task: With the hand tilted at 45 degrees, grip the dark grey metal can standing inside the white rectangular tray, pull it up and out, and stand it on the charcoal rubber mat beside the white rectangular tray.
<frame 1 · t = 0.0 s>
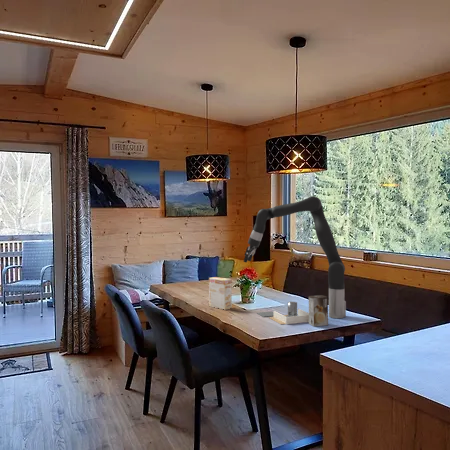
hand: (247, 261, 281), 31 cm above the table, tool tilted 20°, fingers open, 8 cm apart
tin can: (292, 311, 256), in the white rectangular tray
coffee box: (318, 325, 244), on the table
coffeecake box: (220, 307, 288), on the table
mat: (267, 314, 268), on the table
white rectangular tray: (292, 319, 256), on the table
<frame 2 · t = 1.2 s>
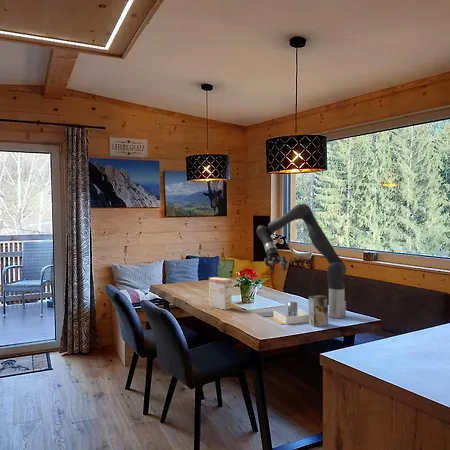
hand: (279, 270, 271), 27 cm above the table, tool tilted 45°, fingers open, 8 cm apart
nothing on the table moved.
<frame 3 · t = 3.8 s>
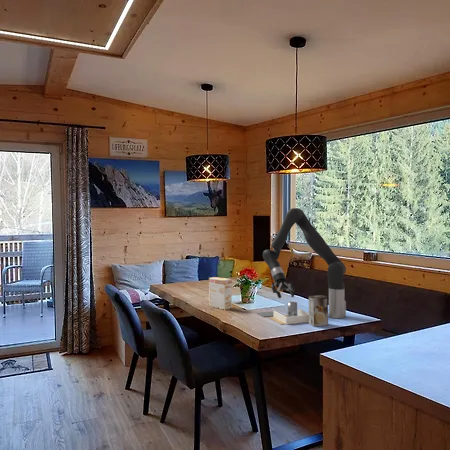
hand: (286, 297, 262), 12 cm above the table, tool tilted 45°, fingers open, 8 cm apart
nothing on the table moved.
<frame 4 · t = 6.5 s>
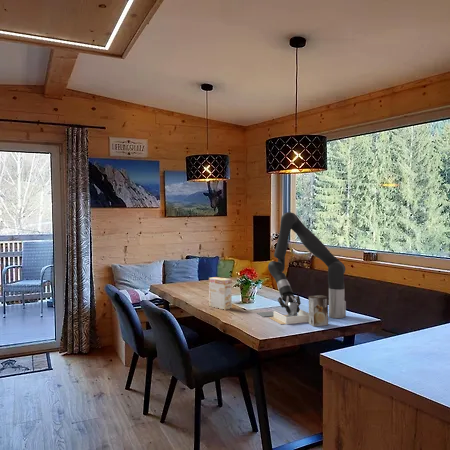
hand: (293, 312, 254), 5 cm above the table, tool tilted 45°, fingers closed on tin can, 5 cm apart
tin can: (292, 311, 256), in the white rectangular tray, touching gripper
everything else where it was.
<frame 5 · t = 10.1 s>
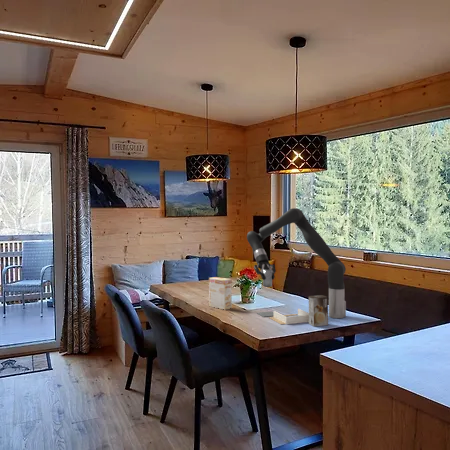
hand: (268, 278, 265), 23 cm above the table, tool tilted 45°, fingers closed on tin can, 5 cm apart
tin can: (267, 278, 267), point 23 cm above the table, touching gripper
everything else where it was.
when the fingers open (7 cm above the table, at t = 14.1 s): tin can drops 1 cm, resting on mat.
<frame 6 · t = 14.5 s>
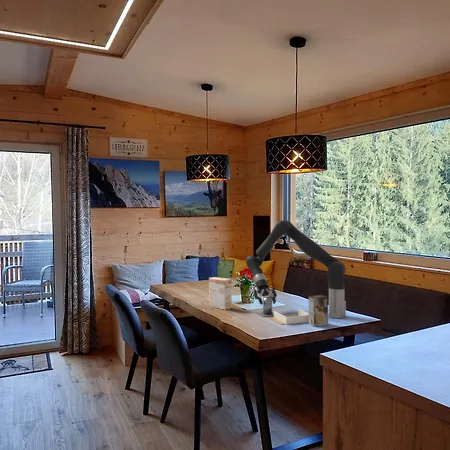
hand: (268, 303, 266), 7 cm above the table, tool tilted 45°, fingers open, 8 cm apart
tin can: (267, 305, 268), on the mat
everything else where it was.
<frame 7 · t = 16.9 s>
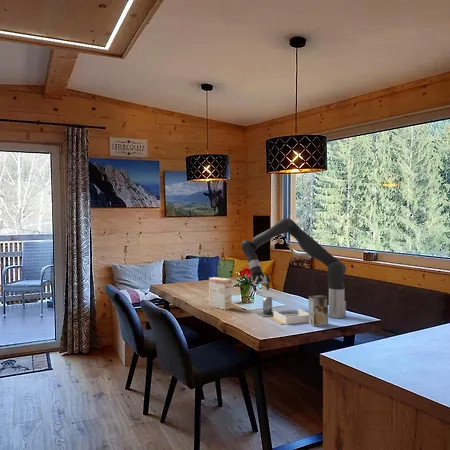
hand: (262, 290, 279), 13 cm above the table, tool tilted 30°, fingers open, 8 cm apart
nothing on the table moved.
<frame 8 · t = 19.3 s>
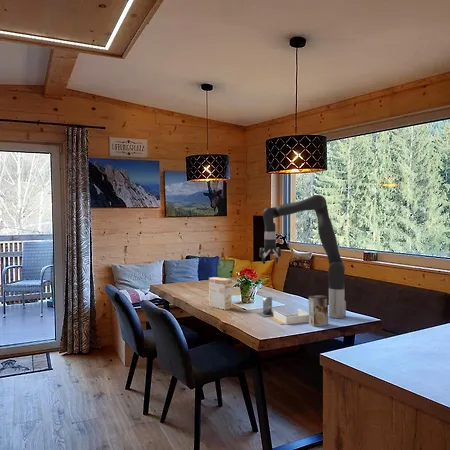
hand: (270, 263, 279), 30 cm above the table, tool pointing down, fingers open, 8 cm apart
nothing on the table moved.
at the end: tin can inside the target area on the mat (0.1 cm from its centre), point 5.5 cm above the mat's base; tin can tilted 0°; the gripper is holding nothing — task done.
